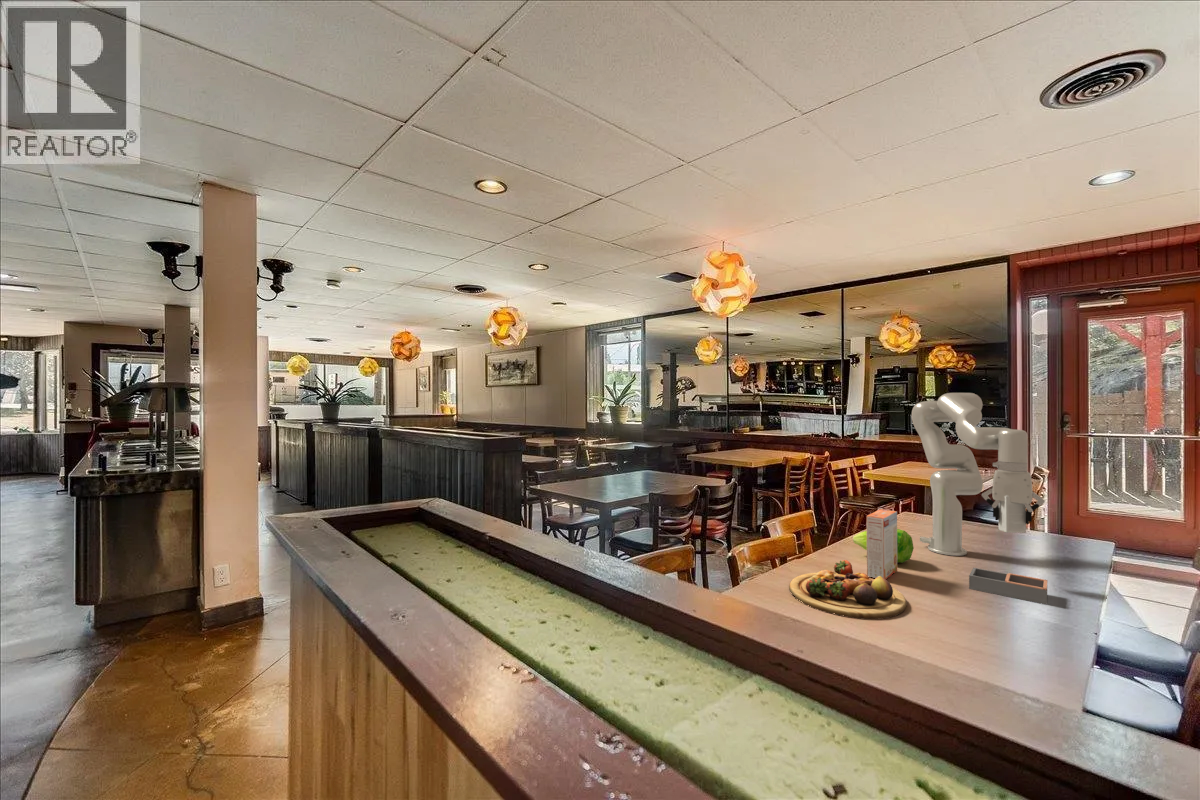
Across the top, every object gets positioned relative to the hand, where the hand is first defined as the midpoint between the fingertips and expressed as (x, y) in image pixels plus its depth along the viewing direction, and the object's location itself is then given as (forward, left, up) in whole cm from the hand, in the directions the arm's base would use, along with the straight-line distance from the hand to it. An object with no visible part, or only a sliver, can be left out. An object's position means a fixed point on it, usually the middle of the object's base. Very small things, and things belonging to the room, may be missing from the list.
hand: (1012, 521), depth 169 cm
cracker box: (-33, -21, -20) cm, 44 cm away
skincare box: (0, 0, -4) cm, 4 cm away
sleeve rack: (0, -12, -20) cm, 23 cm away
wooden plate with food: (-36, -50, -20) cm, 65 cm away
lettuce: (-37, -3, -20) cm, 42 cm away
